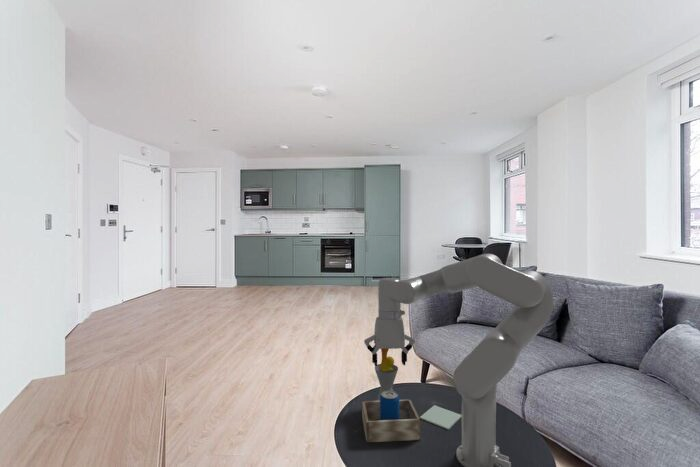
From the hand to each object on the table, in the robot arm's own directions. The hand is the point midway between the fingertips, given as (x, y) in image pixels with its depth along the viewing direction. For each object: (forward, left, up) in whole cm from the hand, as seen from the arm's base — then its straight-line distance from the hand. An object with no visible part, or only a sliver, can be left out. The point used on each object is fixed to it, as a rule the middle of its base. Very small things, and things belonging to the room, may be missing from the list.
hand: (389, 364), depth 119 cm
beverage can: (0, 0, -23) cm, 23 cm away
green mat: (-10, -18, -22) cm, 30 cm away
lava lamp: (+9, -12, -23) cm, 27 cm away
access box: (0, 0, -22) cm, 22 cm away
